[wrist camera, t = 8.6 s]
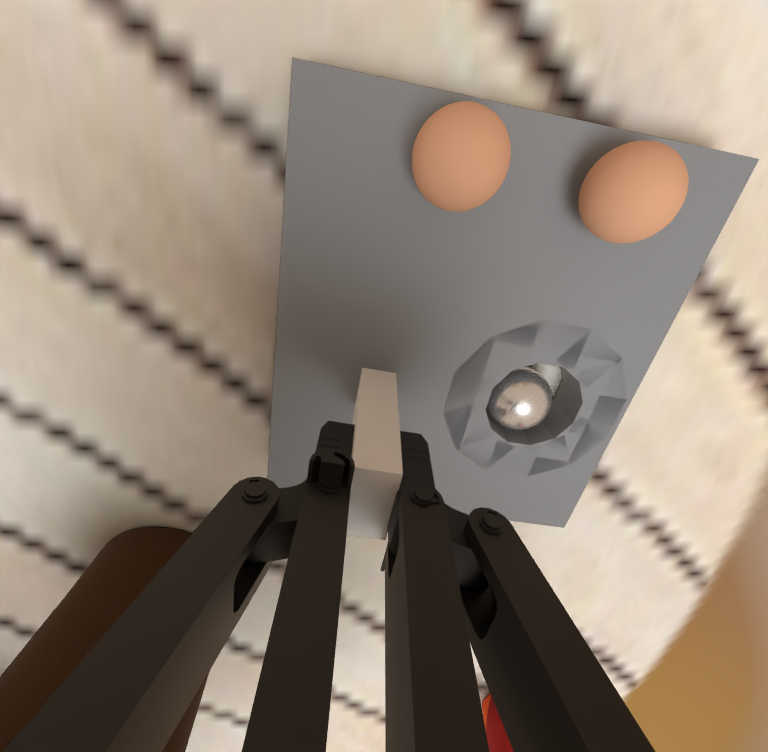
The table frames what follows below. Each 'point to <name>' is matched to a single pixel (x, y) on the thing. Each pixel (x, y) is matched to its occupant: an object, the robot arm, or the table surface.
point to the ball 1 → (461, 156)
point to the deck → (469, 289)
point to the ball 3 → (633, 191)
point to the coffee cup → (494, 728)
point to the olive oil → (88, 628)
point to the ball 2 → (520, 399)
